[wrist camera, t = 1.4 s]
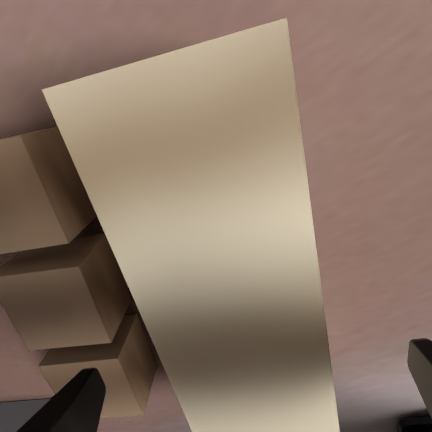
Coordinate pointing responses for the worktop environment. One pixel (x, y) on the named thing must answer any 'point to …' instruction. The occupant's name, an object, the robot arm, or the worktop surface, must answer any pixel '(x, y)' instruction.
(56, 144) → the walnut chip
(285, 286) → the block
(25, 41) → the worktop surface
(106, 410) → the walnut chip
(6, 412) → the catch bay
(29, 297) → the block
